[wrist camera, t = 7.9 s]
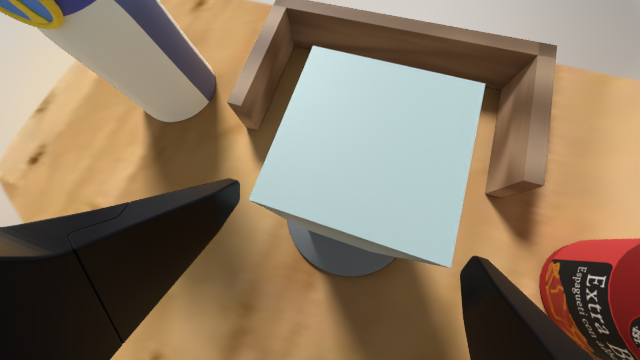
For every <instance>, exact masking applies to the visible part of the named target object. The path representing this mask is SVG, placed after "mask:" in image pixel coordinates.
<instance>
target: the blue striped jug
mask: <svg viewBox="0 0 640 360" xmlns="http://www.w3.org/2000/svg"><path fill="white" fill-rule="evenodd" d="M0 11H1V12H2V13H4V14H6V15H8V16H10V17H12V18H14V19H16V20H18V21H21V22H23V23H26V24H28V25H31V26H34V27H37V28H38V29H39V30H40V31H41V32H42V33H43V34H44V35H45V36H47V37H48V38H49V39H50V40H51V41H53V42H54V43H55V44H57V45H58V46H59V47H60V48H62V49H63V50H64V51H66V52H67V53H68V54H70V55H71V56H73V57H74V58H75V59H77V60H78V61H79V62H81V63H82V64H83V65H85V66H86V67H88V68H89V69H90V70H92V71H93V72H94V73H96V74H97V75H99V76H100V77H101V78H103V79H104V80H105V81H107V82H108V83H109V84H111V85H112V86H113V87H115V88H116V89H117V90H119V91H120V92H121V93H123V94H124V95H125V96H126V97H128V98H129V99H130V100H132V101H133V102H134V103H135V104H137V105H138V106H139V107H141V108H142V109H143V110H144V111H146V112H147V113H148V114H149V115H151V116H152V117H154V118H155V119H157V120H160V121H164V122H177V121H182V120H185V119H188V118H190V117H192V116H194V115H196V114H197V113H199V112H200V111H201V110H202V109H203V108H204V107H205V106H206V105H207V104H208V103H209V101H210V100H211V98H212V96H213V94H214V91H215V86H216V78H215V74H214V71H213V69H212V68H211V67H210V65H209V64H208V63H207V62H206V60H205V59H204V58H203V57H202V55H201V54H200V53H199V52H198V51H197V49H196V48H195V47H194V46H193V44H192V43H191V42H190V40H189V39H188V38H187V37H186V35H185V34H184V33H183V31H182V30H181V29H180V28H179V26H178V25H177V24H176V22H175V21H174V20H173V18H172V17H171V16H170V14H169V13H168V12H167V10H166V9H165V7H164V6H163V5H162V3H161V2H160V1H159V0H0Z"/></svg>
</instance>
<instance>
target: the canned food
mask: <svg viewBox="0 0 640 360" xmlns="http://www.w3.org/2000/svg"><path fill="white" fill-rule="evenodd" d="M540 292H541V297H542V300H543V303H544V306H545V308H546V310H547V312H548V314H549V316H550V318H551V319H552V320H553V321H554V322H555V323H556V324H557V325H558V326H559V327H560V328H561V329H562V330H563V331H564V332H565V333H566V334H567V335H568V336H569V337H571V338H572V339H573V340H574V341H575V342H576V343H577V344H578V345H579V346H580V347H582V348H583V349H584V350H586V351H587V352H589V353H590V354H592V355H594V356H596V357H598V358H600V359H602V360H640V239H604V240H586V241H579V242H576V243H573V244H570V245H567V246H564V247H562V248H560V249H558V250H557V251H555V252H554V253H553V254H552V255H551V256H550V257H549V258H548V259H547V260H546V262H545V264H544V266H543V268H542V271H541V275H540Z"/></svg>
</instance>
